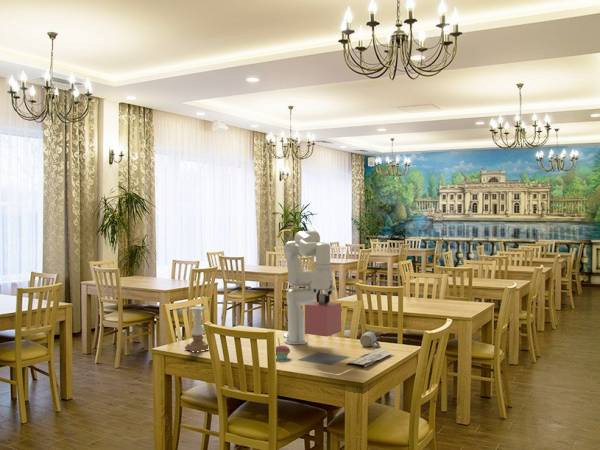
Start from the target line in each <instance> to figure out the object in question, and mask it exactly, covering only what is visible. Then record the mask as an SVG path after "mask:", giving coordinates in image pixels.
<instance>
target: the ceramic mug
mask: <svg viewBox="0 0 600 450" xmlns="http://www.w3.org/2000/svg"><path fill="white" fill-rule="evenodd" d="M359 343H360V345H361V346H363V348H364V347H365V348H369V347H371V346H372V347H374V348H379V347H380V343H379V341H377V336H376V334H375V333H374V332H372V331H366V332H365V333H364V334H362V335H361V336H360V338H359Z"/></svg>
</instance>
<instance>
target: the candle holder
mask: <svg viewBox="0 0 600 450" xmlns="http://www.w3.org/2000/svg"><path fill="white" fill-rule="evenodd" d="M207 309H208V307H207V306H205V305H204V306H203V305H202V306H201V305H199V306H197V305H196V306H189V307H188V311H192V313H193V314H194V316H193V318H192V320H193V322H194V325H193V327H192V328H191V330H190V331H191V332H190V333H191V334H192V341H191V342H190V343H186V345H185V347H184V350H185V349H187V350H190V351H194V352H197V351H201V350H206V349H208V344H209V343H208V342H205V341H204V336H203V335H204V333H205V328H204V326H203V325H202V320H203V318H202V317H203V316H202V313H203V311H205V310H207ZM203 328H204V329H203ZM207 343H208V344H207ZM190 351H189V352H190Z"/></svg>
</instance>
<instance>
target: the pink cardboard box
mask: <svg viewBox="0 0 600 450" xmlns="http://www.w3.org/2000/svg"><path fill="white" fill-rule="evenodd" d="M325 296H326V293H320V294H319V302H317V301H315V302H313V303H309V304H305V305H304V335H305V334H306V335H313V336H320V337H330V336H333V335H335V334H339V333H341V332H342V302H334V301H333V302H332V301H329V303H325Z"/></svg>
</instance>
